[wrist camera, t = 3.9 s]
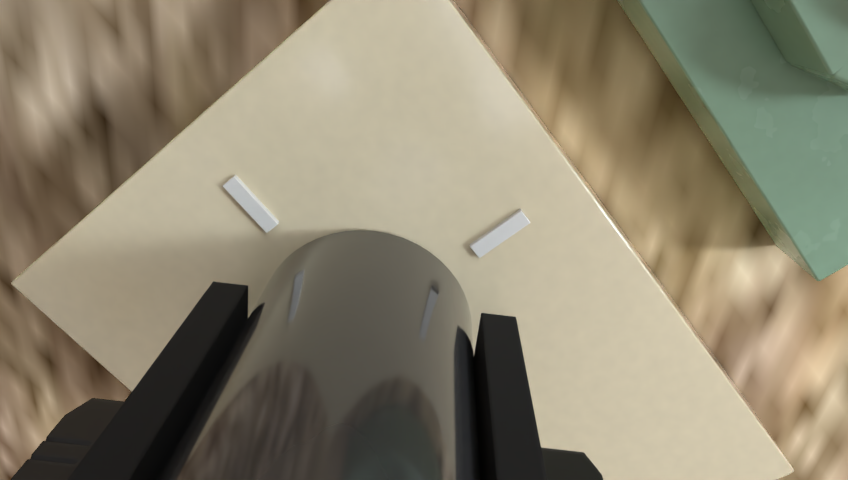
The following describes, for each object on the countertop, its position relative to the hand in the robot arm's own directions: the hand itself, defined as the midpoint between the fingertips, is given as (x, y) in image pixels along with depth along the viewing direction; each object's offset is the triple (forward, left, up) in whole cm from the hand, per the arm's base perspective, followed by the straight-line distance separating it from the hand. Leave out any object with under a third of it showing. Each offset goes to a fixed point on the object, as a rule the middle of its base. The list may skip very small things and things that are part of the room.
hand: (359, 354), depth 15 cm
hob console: (+2, 0, -4) cm, 5 cm away
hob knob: (0, 0, -1) cm, 1 cm away
